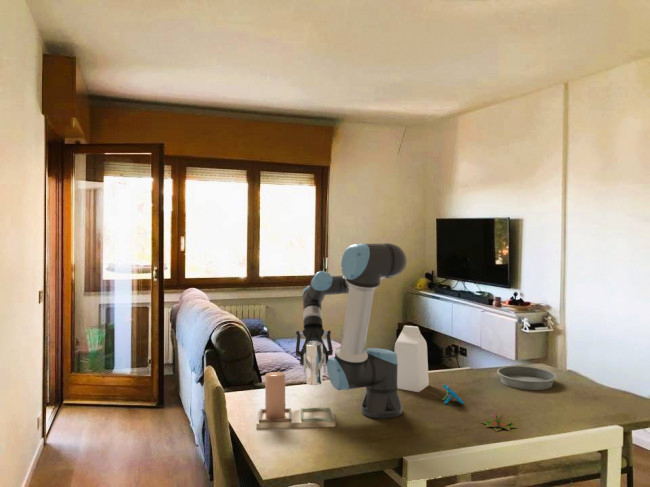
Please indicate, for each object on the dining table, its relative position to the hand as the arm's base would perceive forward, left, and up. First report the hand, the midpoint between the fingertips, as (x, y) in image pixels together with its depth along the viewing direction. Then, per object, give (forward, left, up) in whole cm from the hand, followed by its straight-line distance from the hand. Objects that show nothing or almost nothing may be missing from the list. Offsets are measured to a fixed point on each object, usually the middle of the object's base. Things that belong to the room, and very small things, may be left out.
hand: (314, 370), depth 201 cm
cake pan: (-66, -75, -16) cm, 101 cm away
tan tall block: (+8, +15, -14) cm, 22 cm away
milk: (-22, -47, -16) cm, 54 cm away
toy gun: (-43, -33, -16) cm, 57 cm away
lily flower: (-63, -16, -16) cm, 67 cm away
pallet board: (+2, +11, -15) cm, 19 cm away
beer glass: (+2, -3, -6) cm, 7 cm away
